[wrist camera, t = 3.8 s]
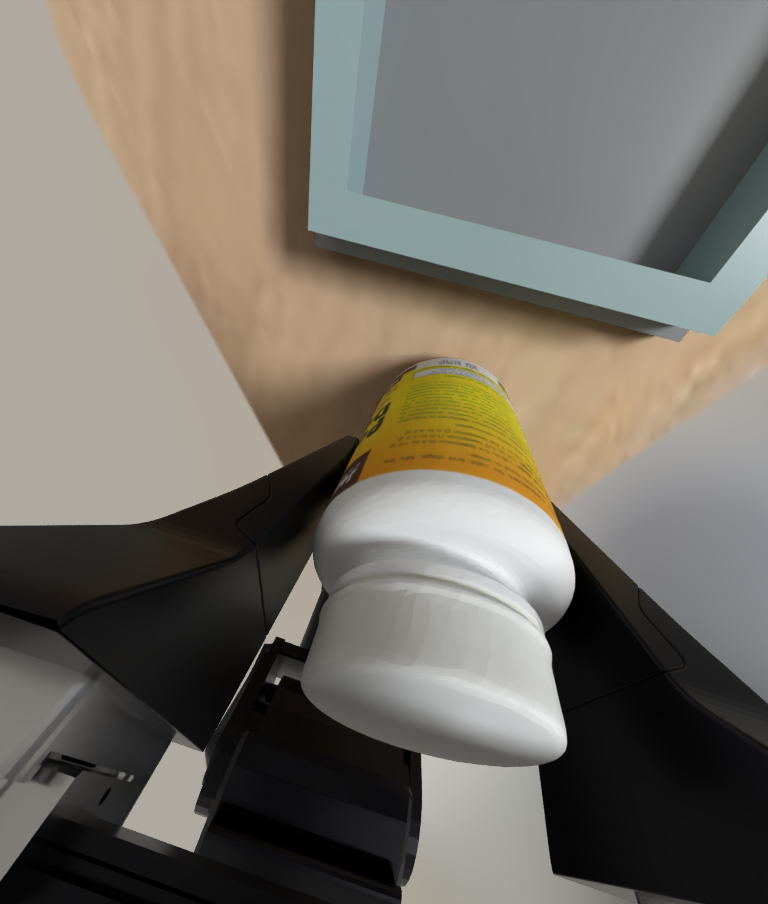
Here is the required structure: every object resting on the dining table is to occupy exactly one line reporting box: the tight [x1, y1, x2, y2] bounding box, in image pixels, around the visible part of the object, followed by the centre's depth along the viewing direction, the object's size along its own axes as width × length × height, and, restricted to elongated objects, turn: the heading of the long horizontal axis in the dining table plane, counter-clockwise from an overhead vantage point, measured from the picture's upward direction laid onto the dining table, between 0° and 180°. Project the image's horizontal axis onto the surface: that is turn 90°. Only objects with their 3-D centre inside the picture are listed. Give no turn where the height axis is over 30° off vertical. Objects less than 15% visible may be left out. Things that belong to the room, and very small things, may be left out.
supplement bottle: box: [301, 358, 575, 767], centre depth 8 cm, size 6×6×10 cm
